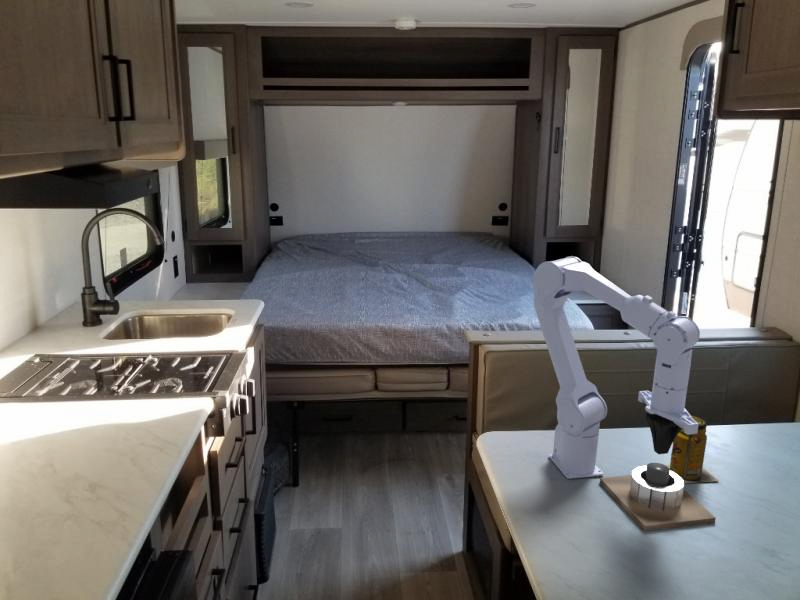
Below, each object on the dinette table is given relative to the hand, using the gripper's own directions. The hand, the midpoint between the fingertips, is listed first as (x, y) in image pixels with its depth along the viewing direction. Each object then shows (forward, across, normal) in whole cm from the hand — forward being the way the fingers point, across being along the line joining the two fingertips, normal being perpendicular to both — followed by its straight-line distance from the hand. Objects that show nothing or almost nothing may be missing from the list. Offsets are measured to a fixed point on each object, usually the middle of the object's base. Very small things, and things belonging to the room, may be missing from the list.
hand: (661, 452), depth 118 cm
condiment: (+11, -7, +13) cm, 19 cm away
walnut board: (+10, 0, 0) cm, 10 cm away
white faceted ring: (+10, 0, 0) cm, 10 cm away
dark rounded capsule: (+9, 0, 0) cm, 9 cm away
